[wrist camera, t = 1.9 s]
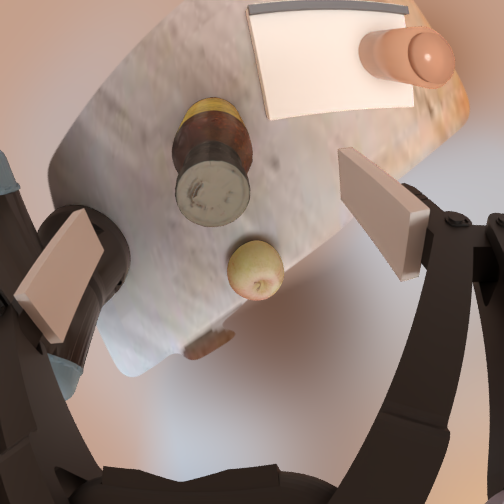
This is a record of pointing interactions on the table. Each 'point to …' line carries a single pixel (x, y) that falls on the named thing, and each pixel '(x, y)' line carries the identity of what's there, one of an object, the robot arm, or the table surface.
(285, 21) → the white rectangular box
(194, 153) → the sauce bottle
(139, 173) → the table surface
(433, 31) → the terracotta jar
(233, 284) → the fruit
